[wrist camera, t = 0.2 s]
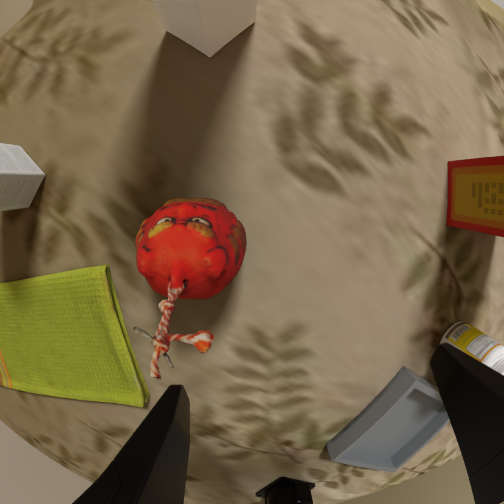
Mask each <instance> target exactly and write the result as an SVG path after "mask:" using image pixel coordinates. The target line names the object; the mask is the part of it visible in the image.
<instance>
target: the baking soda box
mask: <svg viewBox="0 0 504 504" xmlns="http://www.w3.org/2000/svg"><path fill="white" fill-rule="evenodd" d="M446 225H447V226H452V227H457V228H462V229H468V230H472V231H477V232H482V233H487V234H491V235H496V236H500V237H504V156H496V157H485V158H475V159H465V160H457V161H449V162H448V208H447V224H446Z"/></svg>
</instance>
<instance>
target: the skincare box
mask: <svg viewBox="0 0 504 504" xmlns="http://www.w3.org/2000/svg"><path fill="white" fill-rule="evenodd" d="M44 177H45V174H44V173H43V172H42V171H41V169H40V168H39V167H38V166H37V165H36V164H35V163H34V161H33V160H32V159H31V158H30V157H29V156H28V155H27V153H26V152H25V151H24V150H23V149H22V147H21V146H17V145H10V144H4V143H0V211H5V210H13V209H20V208H28V207H29V206H30V205H31V203H32V200H33V198H34V196H35V194H36V192H37V190H38V188H39V186H40V184H41V182H42V181H43V179H44Z"/></svg>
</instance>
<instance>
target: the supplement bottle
mask: <svg viewBox="0 0 504 504" xmlns="http://www.w3.org/2000/svg"><path fill="white" fill-rule="evenodd" d="M445 342H447V343H449V344H451V345H453V346H454V347H456V348H458V349H459V350H461V351H463V352H465V353H466V354H468V355H470V356H472V357H473V358H475V359H477V360H478V361H480V362H482V363H484V364H485V365H487V366H489V367H490V368H492V369H494V370H495V371H497V372H499V373H501V374H502V375H504V346H503V345H501V344H500V343H498V342H497V341H495V340H494V339H492V338H491V337H489V336H488V335H486V334H484V333H483V332H481V331H480V330H478V329H477V328H475V327H473V326H472V325H470V324H469V323H467V322H457V323H455V324H454V325H452V326H451V327H450V328H449V329H448V330H447V331H446V332H445V334H444V335H443V337H442V339H441V341H440V344H441V343H445Z"/></svg>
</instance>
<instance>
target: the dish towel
mask: <svg viewBox="0 0 504 504" xmlns="http://www.w3.org/2000/svg"><path fill="white" fill-rule="evenodd" d="M0 385H1V386H4V387H8V388H12V389H16V390H21V391H26V392H30V393H35V394H42V395H49V396H55V397H63V398H70V399H78V400H84V401H85V400H87V401H98V402H110V403H118V404H125V405H130V406H137V407H140V408H142V407H143V406H144V404H145V402H146V403H147V402H148V399H149V397H150V395H149V391H148V388H147V385H146V383H145V381H144V378H143V375H142V373H141V370H140V367H139V365H138V362H137V360H136V357H135V355H134V352H133V349H132V347H131V343H130V339H129V335H128V332H127V329H126V326H125V323H124V320H123V316H122V313H121V310H120V306H119V303H118V300H117V296H116V292H115V288H114V285H113V281H112V277H111V273H110V268H109V265H101V266H94V267H87V268H82V269H76V270H70V271H66V272H60V273H55V274H49V275H43V276H38V277H33V278H26V279H21V280H17V281H11V282H5V283H0Z"/></svg>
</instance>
